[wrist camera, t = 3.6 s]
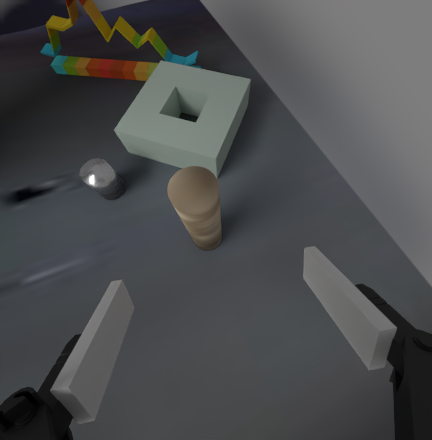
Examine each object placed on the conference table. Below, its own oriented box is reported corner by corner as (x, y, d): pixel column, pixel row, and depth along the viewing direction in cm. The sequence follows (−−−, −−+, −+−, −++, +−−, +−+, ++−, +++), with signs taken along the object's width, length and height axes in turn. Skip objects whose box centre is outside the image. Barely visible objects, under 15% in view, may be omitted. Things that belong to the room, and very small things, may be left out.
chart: (201, 75, 41) (189, -40, 27) (198, 86, 40) (184, -27, 26) (64, 64, 44) (-11, -44, 30) (57, 74, 43) (-24, -33, 29)
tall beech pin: (189, 245, 29) (158, 202, 16) (200, 219, 30) (180, 160, 17) (216, 254, 28) (207, 218, 15) (225, 228, 29) (225, 173, 16)
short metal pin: (96, 195, 32) (73, 178, 28) (109, 174, 33) (90, 155, 29) (117, 203, 32) (99, 187, 27) (130, 181, 33) (114, 162, 28)
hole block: (128, 152, 35) (113, 130, 30) (168, 88, 40) (160, 60, 35) (217, 178, 32) (215, 158, 28) (247, 106, 37) (250, 79, 33)
